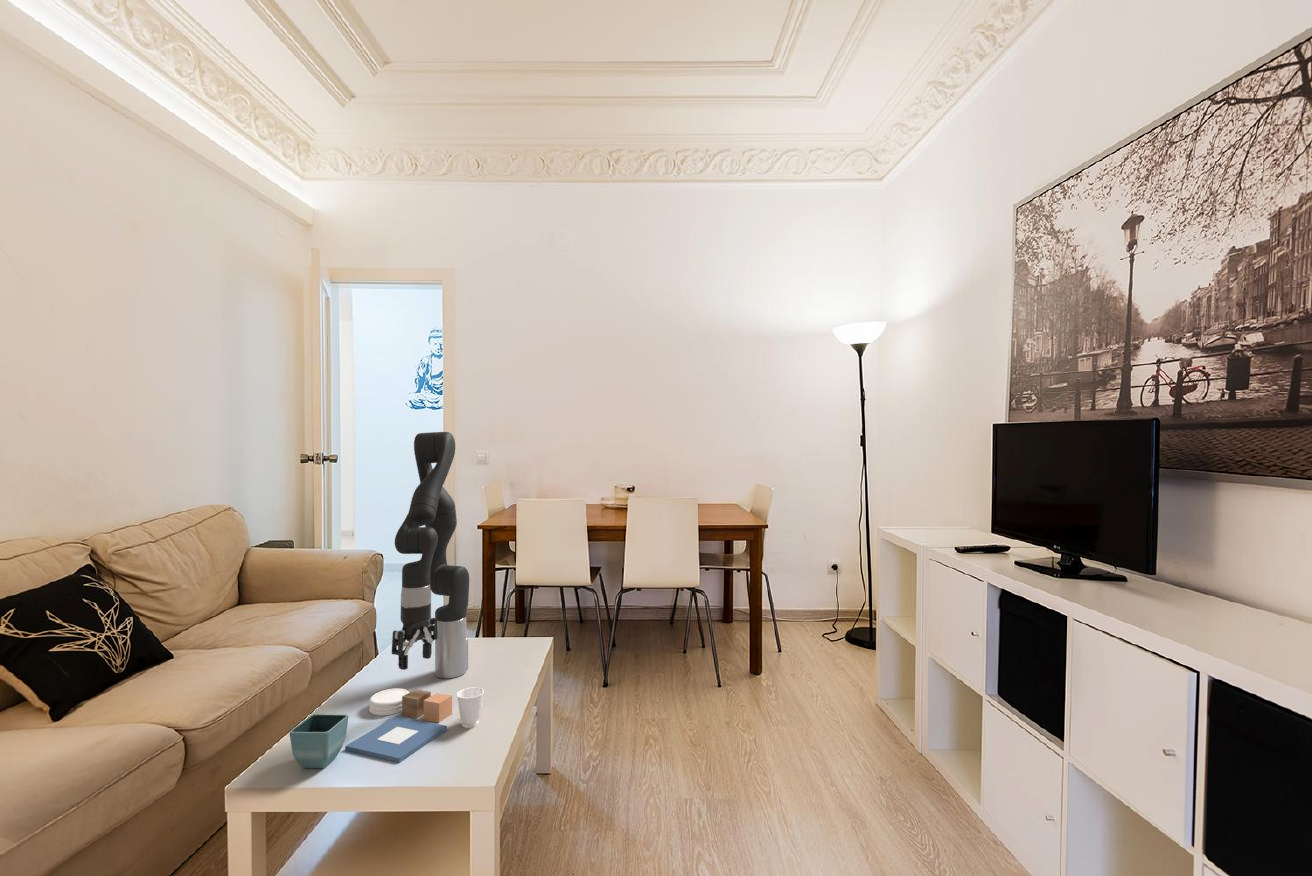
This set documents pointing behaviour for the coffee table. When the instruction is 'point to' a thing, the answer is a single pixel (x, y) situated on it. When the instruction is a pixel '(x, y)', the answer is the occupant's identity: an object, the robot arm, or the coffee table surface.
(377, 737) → the board
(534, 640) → the coffee table surface
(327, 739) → the flower pot
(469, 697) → the cup
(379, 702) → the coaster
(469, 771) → the coffee table surface
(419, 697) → the walnut block
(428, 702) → the terracotta block
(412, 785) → the coffee table surface
